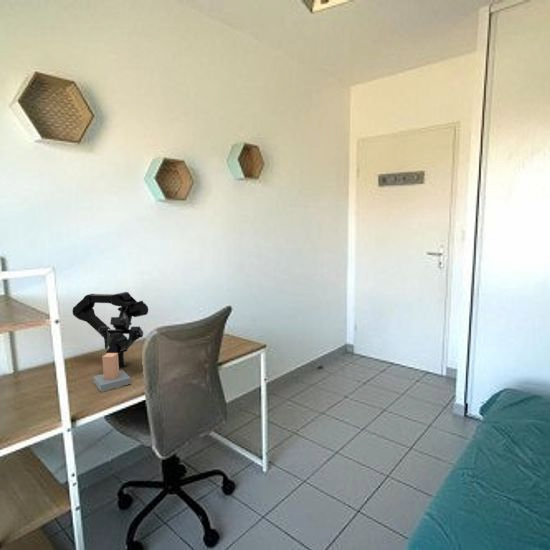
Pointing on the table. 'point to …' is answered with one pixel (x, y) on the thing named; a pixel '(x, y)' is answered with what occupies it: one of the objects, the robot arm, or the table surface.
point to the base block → (111, 381)
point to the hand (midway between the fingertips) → (116, 349)
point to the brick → (110, 366)
